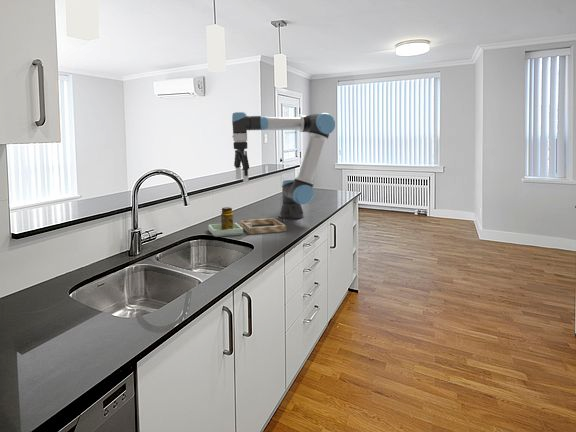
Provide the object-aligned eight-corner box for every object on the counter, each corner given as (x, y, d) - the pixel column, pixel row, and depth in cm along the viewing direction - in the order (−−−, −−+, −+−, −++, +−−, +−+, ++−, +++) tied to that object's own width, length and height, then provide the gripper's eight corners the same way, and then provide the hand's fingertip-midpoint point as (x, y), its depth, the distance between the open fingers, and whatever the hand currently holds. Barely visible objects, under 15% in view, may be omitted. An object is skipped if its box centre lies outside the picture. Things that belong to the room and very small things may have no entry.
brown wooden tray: (273, 223, 234) (273, 218, 234) (286, 230, 216) (286, 225, 215) (240, 225, 227) (240, 220, 227) (250, 233, 209) (249, 228, 208)
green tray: (236, 228, 222) (235, 222, 221) (243, 234, 208) (243, 228, 208) (208, 230, 216) (208, 224, 216) (214, 236, 203) (213, 230, 202)
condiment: (236, 231, 211) (235, 208, 209) (221, 233, 207) (220, 210, 205) (230, 228, 217) (229, 206, 215) (215, 230, 213) (214, 207, 211)
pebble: (249, 226, 226) (249, 222, 226) (252, 227, 224) (252, 223, 224) (244, 227, 224) (244, 223, 224) (247, 228, 222) (247, 224, 222)
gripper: (227, 141, 230) (229, 178, 234) (240, 142, 207) (242, 183, 212) (240, 141, 233) (241, 177, 237) (254, 141, 210) (255, 182, 215)
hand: (242, 180), depth 224 cm, fingers open, 13 cm apart
